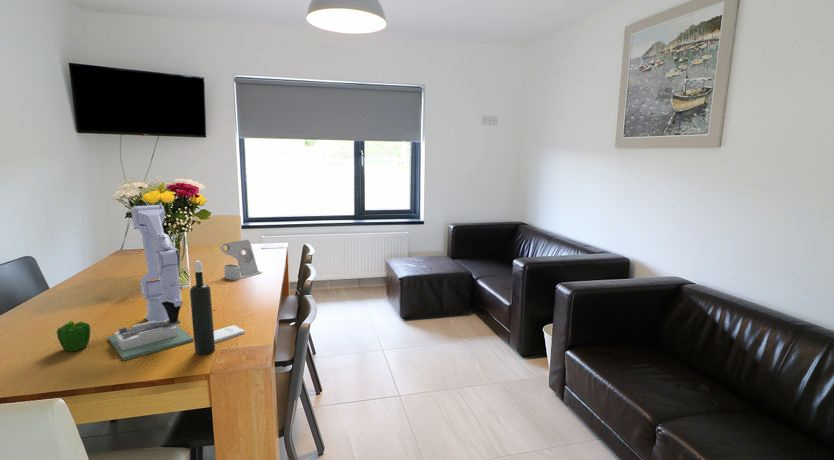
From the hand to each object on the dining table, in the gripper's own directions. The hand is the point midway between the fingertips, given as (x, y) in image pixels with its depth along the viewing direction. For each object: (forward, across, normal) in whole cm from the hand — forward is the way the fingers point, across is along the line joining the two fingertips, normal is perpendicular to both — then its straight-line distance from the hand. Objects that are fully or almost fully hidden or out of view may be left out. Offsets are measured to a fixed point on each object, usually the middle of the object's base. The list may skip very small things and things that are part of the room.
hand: (173, 321), depth 149 cm
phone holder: (+5, -58, +50) cm, 77 cm away
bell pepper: (+5, -10, -26) cm, 29 cm away
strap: (+1, 0, -7) cm, 7 cm away
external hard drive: (+6, +13, +11) cm, 18 cm away
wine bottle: (+5, +22, +2) cm, 23 cm away
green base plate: (+5, 0, -8) cm, 9 cm away
